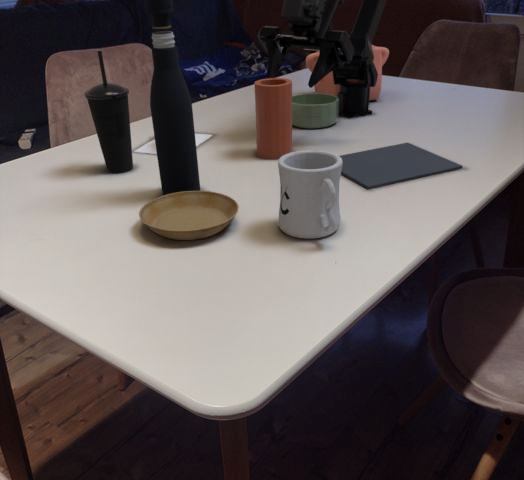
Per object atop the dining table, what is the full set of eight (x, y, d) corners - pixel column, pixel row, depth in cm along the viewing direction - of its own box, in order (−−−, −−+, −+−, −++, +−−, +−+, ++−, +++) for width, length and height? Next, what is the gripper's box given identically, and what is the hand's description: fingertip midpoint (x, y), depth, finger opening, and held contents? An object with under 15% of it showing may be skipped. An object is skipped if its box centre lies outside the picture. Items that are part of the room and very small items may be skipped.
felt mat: (407, 144, 116) (407, 142, 116) (462, 168, 104) (462, 165, 104) (319, 162, 109) (319, 159, 109) (367, 189, 98) (368, 186, 97)
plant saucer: (259, 223, 88) (259, 207, 86) (182, 257, 80) (180, 239, 78) (197, 199, 97) (196, 183, 95) (122, 227, 88) (119, 210, 87)
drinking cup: (145, 161, 113) (127, 46, 101) (134, 175, 107) (114, 54, 95) (107, 161, 113) (85, 47, 102) (94, 175, 107) (69, 55, 96)
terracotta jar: (282, 146, 118) (281, 76, 110) (298, 155, 113) (298, 83, 105) (251, 151, 116) (248, 80, 108) (266, 161, 111) (264, 87, 103)
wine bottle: (194, 201, 96) (171, -13, 78) (157, 200, 97) (126, -13, 79) (205, 187, 101) (185, -18, 83) (169, 186, 102) (143, -17, 84)
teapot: (295, 95, 152) (295, 35, 144) (372, 87, 157) (376, 28, 148) (324, 114, 136) (326, 48, 128) (408, 104, 141) (415, 39, 133)
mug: (269, 221, 88) (267, 154, 83) (323, 210, 91) (325, 145, 85) (302, 255, 79) (302, 183, 73) (361, 243, 81) (367, 172, 76)
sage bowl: (321, 113, 137) (322, 90, 134) (346, 124, 129) (348, 100, 126) (279, 120, 133) (279, 97, 130) (302, 132, 125) (303, 107, 122)
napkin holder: (182, 156, 115) (179, 126, 111) (132, 151, 118) (127, 122, 115) (213, 134, 126) (211, 106, 123) (166, 131, 129) (163, 103, 126)
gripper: (261, -23, 109) (229, 52, 108) (350, -22, 100) (317, 59, 100) (284, 19, 119) (255, 89, 118) (367, 24, 110) (337, 99, 109)
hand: (288, 84), depth 111 cm, fingers open, 9 cm apart
